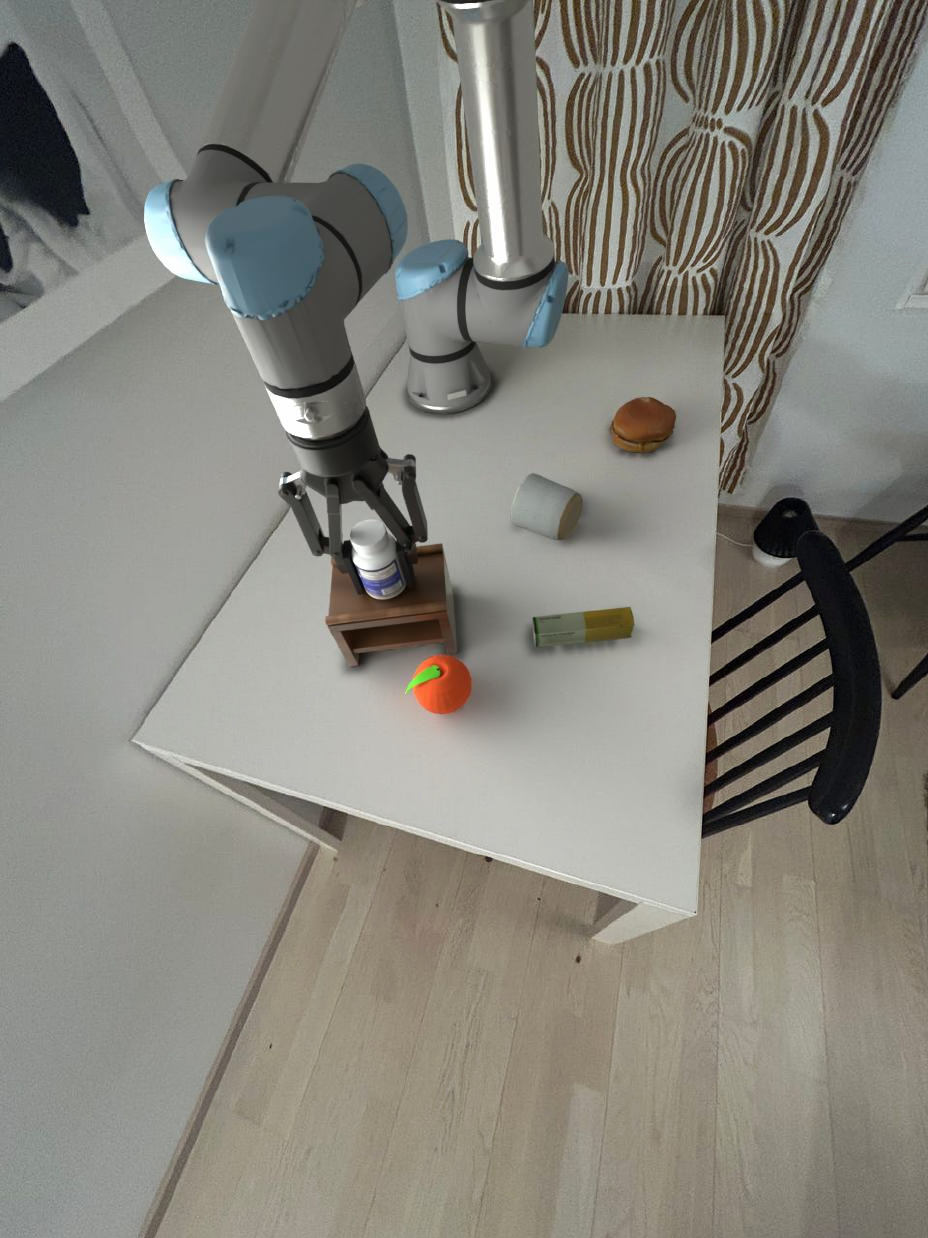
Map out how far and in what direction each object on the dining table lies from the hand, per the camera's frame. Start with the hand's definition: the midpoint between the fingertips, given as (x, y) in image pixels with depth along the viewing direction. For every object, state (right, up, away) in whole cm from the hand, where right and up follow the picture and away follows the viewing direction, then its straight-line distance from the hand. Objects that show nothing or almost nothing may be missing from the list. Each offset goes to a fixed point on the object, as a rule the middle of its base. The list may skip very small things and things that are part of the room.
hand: (386, 582), depth 69 cm
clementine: (+7, -14, +1) cm, 16 cm away
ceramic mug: (+22, +10, +16) cm, 29 cm away
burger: (+38, +25, +24) cm, 51 cm away
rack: (+1, -6, +8) cm, 10 cm away
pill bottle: (0, 0, 0) cm, 0 cm away
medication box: (+24, -7, +4) cm, 25 cm away
